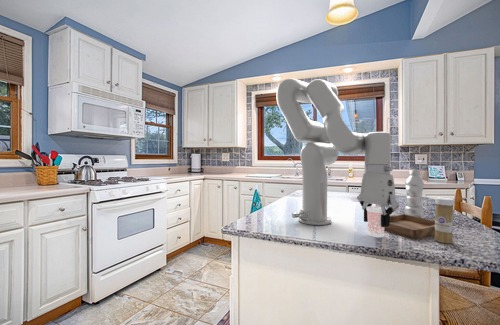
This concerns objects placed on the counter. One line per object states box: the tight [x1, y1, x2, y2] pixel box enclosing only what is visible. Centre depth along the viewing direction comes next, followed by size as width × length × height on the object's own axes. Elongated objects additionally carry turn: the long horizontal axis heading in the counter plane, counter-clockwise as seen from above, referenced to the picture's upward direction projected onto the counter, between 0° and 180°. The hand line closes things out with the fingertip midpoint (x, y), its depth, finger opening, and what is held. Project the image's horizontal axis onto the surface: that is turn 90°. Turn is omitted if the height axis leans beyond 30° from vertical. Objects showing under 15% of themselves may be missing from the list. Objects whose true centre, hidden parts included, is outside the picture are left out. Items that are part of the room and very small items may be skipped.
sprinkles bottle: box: [433, 196, 455, 244], centre depth 78 cm, size 5×5×13 cm
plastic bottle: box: [404, 169, 425, 218], centre depth 106 cm, size 6×7×20 cm
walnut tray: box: [384, 213, 435, 241], centre depth 90 cm, size 18×16×3 cm
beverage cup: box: [366, 204, 387, 238], centre depth 84 cm, size 6×6×14 cm
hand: (376, 223), depth 84 cm, fingers closed on beverage cup, 6 cm apart
